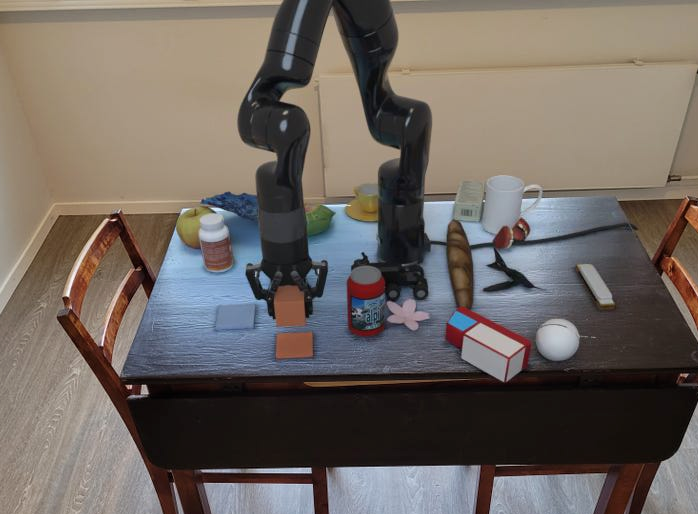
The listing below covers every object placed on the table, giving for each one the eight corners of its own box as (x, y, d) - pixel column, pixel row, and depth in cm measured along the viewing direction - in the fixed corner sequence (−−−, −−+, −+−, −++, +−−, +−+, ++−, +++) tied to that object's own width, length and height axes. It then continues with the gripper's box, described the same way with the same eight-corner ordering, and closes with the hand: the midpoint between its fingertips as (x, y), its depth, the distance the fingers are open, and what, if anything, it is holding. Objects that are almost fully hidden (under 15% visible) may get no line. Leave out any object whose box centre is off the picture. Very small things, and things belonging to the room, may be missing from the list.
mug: (485, 236, 153) (490, 192, 146) (479, 218, 159) (483, 175, 152) (540, 234, 153) (548, 190, 146) (532, 217, 159) (539, 173, 152)
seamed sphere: (522, 343, 118) (533, 313, 122) (543, 372, 121) (553, 342, 125) (577, 333, 111) (587, 302, 115) (597, 364, 114) (606, 332, 118)
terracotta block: (305, 308, 123) (304, 285, 120) (305, 325, 119) (304, 301, 116) (277, 310, 123) (274, 286, 120) (276, 327, 119) (273, 302, 116)
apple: (235, 233, 153) (222, 200, 148) (204, 257, 148) (189, 224, 143) (207, 228, 159) (193, 196, 154) (176, 251, 154) (161, 219, 149)
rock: (263, 216, 146) (262, 225, 147) (283, 197, 162) (282, 205, 162) (196, 200, 147) (195, 209, 148) (222, 183, 162) (221, 191, 163)
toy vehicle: (350, 280, 141) (349, 242, 136) (424, 276, 142) (426, 238, 136) (352, 303, 135) (351, 264, 129) (429, 299, 135) (432, 261, 130)
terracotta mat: (312, 334, 128) (312, 331, 127) (313, 357, 123) (312, 354, 122) (277, 336, 128) (276, 333, 127) (276, 358, 123) (275, 356, 122)
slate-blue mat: (255, 306, 135) (255, 303, 135) (253, 328, 130) (253, 325, 129) (219, 308, 135) (219, 305, 134) (215, 330, 129) (215, 327, 129)
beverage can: (357, 344, 125) (355, 288, 118) (342, 323, 130) (340, 268, 122) (391, 334, 127) (391, 278, 120) (375, 314, 132) (375, 259, 124)
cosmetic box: (479, 222, 158) (484, 198, 167) (481, 204, 155) (486, 181, 164) (451, 219, 159) (458, 196, 168) (453, 201, 157) (460, 179, 166)
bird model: (531, 275, 146) (542, 301, 138) (475, 265, 144) (482, 291, 136) (541, 253, 143) (552, 279, 135) (483, 242, 141) (491, 268, 133)
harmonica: (615, 309, 131) (617, 301, 130) (599, 310, 131) (601, 302, 130) (589, 268, 143) (591, 259, 141) (574, 269, 142) (576, 260, 141)
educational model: (322, 246, 151) (321, 223, 148) (254, 237, 155) (251, 215, 151) (340, 221, 161) (339, 199, 157) (275, 214, 164) (273, 192, 161)
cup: (406, 208, 164) (407, 187, 160) (372, 227, 157) (372, 206, 154) (368, 193, 170) (368, 173, 167) (334, 211, 164) (333, 190, 160)
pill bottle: (239, 267, 146) (232, 220, 139) (212, 277, 143) (203, 229, 136) (226, 255, 150) (218, 208, 143) (199, 263, 147) (190, 216, 140)
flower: (438, 338, 129) (440, 332, 127) (385, 338, 126) (387, 332, 125) (426, 301, 135) (428, 295, 134) (376, 301, 133) (377, 295, 132)
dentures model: (511, 243, 144) (537, 229, 148) (499, 227, 145) (524, 214, 148) (498, 257, 149) (524, 244, 153) (487, 242, 150) (512, 229, 153)
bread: (441, 223, 158) (443, 203, 155) (463, 223, 158) (465, 203, 154) (452, 324, 129) (454, 302, 126) (479, 324, 129) (482, 302, 125)
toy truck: (461, 304, 125) (437, 320, 121) (532, 340, 116) (509, 358, 113) (459, 329, 128) (435, 345, 124) (528, 366, 120) (505, 384, 116)
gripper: (235, 242, 107) (248, 331, 118) (329, 238, 107) (333, 327, 118) (239, 219, 113) (251, 305, 124) (328, 215, 113) (332, 301, 124)
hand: (291, 315), depth 121 cm, fingers closed on terracotta block, 5 cm apart
